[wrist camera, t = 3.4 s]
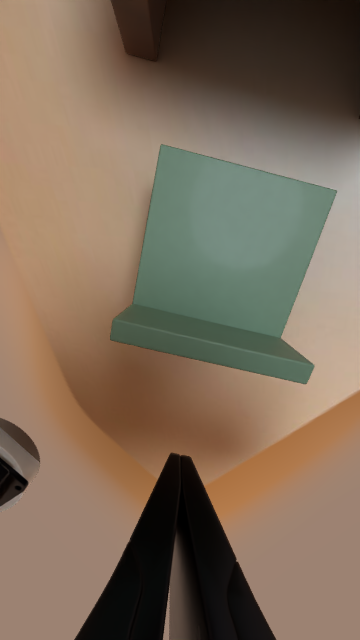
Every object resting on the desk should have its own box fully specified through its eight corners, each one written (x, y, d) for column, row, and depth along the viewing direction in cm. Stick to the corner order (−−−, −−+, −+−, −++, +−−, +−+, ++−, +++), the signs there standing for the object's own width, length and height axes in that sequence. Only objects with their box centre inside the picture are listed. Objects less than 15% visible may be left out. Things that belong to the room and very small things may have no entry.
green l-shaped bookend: (143, 305, 13) (109, 340, 7) (167, 177, 11) (148, 84, 5) (253, 331, 13) (306, 385, 7) (295, 210, 11) (410, 156, 6)
